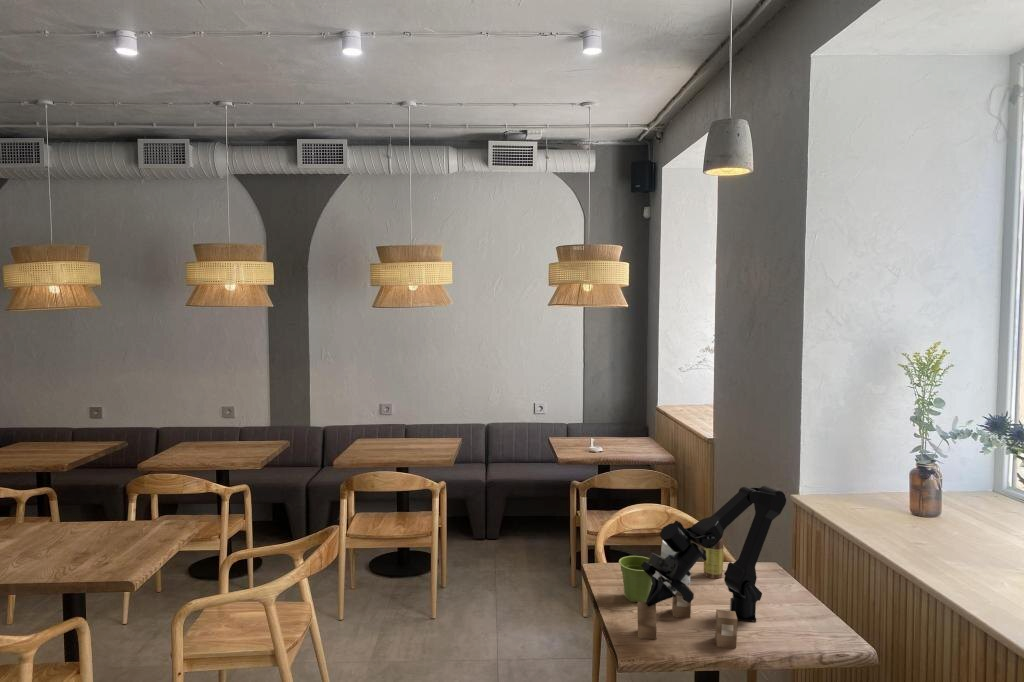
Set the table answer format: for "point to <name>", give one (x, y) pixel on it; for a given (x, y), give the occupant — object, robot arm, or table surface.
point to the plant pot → (635, 578)
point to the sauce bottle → (714, 561)
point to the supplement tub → (668, 551)
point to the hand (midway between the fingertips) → (647, 604)
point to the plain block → (646, 621)
